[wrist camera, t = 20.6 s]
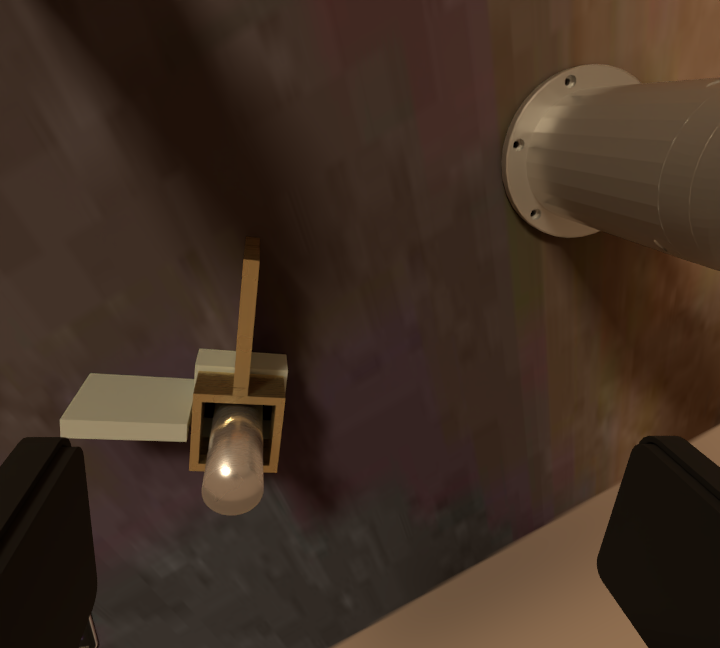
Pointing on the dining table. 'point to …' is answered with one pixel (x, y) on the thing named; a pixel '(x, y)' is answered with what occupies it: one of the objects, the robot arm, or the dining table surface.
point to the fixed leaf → (240, 377)
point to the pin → (234, 459)
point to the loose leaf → (152, 401)
